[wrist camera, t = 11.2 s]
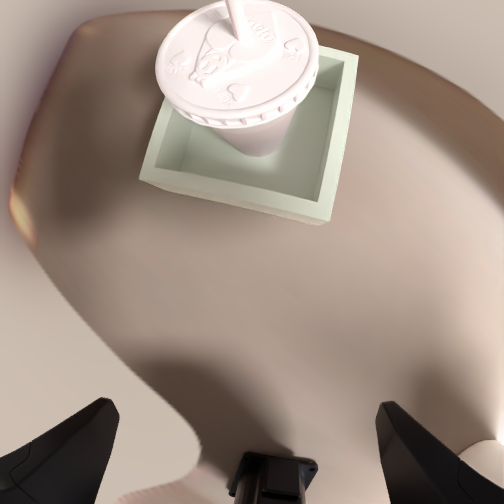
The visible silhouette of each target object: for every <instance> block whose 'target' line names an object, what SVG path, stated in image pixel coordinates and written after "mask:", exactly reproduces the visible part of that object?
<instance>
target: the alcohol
mask: <svg viewBox="0 0 504 504" xmlns="http://www.w3.org/2000/svg"><path fill="white" fill-rule="evenodd" d="M458 457H459V458H460V459H461V460H463V461H464V462H466V463H467V464H468V465H469V466H470V467H472V468H473V469H474V470H476V471H477V472H478V473H479V474H481V475H482V476H484V477H485V478H487V479H488V480H490V481H492V482H493V483H495V484H497V485H498V486H500V487H502V488H503V489H504V446H503V445H502V444H501V443H500V442H499V441H497V440H484V441H480V442H478V443H475V444H474V445H472V446H470V447H469V448H467V449H466V450H464V451H463V452H462V453H461V454H459V455H458Z"/></svg>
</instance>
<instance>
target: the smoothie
mask: <svg viewBox="0 0 504 504" xmlns="http://www.w3.org/2000/svg"><path fill="white" fill-rule="evenodd" d="M318 59H319V46H318V41H317V38H316V35H315V33H314V31H313V30H312V28H311V27H310V25H309V24H308V23H307V22H306V20H305V19H303V18H302V17H301V16H300V15H299V14H297V13H296V12H294V11H293V10H291V9H290V8H288V7H285V6H284V5H281V4H279V3H275V2H272V1H268V0H224V1H219V2H216V3H212V4H210V5H207V6H205V7H202V8H200V9H198V10H196V11H194V12H193V13H191V14H189V15H188V16H187V17H185V18H184V19H182V20H181V21H180V22H179V23H178V24H177V25H176V26H175V27H174V28H173V29H172V30H171V31H170V32H169V33H168V35H167V36H166V37H165V39H164V41H163V42H162V44H161V46H160V48H159V51H158V54H157V58H156V65H155V72H156V78H157V82H158V84H159V87H160V89H161V90H162V92H163V93H164V95H165V96H166V97H167V99H168V101H169V103H170V105H171V106H172V107H173V108H174V109H176V110H177V111H178V112H179V113H180V114H181V115H182V116H183V117H185V118H187V119H189V120H191V121H193V122H195V123H197V124H200V125H203V126H208V127H210V128H212V129H213V130H214V131H215V132H217V133H218V134H219V135H220V136H221V137H223V138H224V139H225V140H226V141H228V142H229V143H230V144H231V145H232V146H234V147H235V148H236V149H237V150H238V151H240V152H241V153H243V154H245V155H247V156H251V157H263V156H267V155H269V154H271V153H273V152H274V151H276V150H277V149H278V148H279V147H280V146H281V144H282V143H283V140H284V138H285V135H286V133H287V130H288V128H289V125H290V122H291V120H292V117H293V115H294V112H295V110H296V107H297V105H298V104H299V103H300V102H301V101H303V100H304V98H305V97H306V95H307V94H308V92H309V91H310V90H311V88H312V87H313V85H314V83H315V80H316V76H317V72H318V69H319V64H318Z"/></svg>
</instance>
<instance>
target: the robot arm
mask: <svg viewBox="0 0 504 504" xmlns="http://www.w3.org/2000/svg"><path fill="white" fill-rule="evenodd" d="M118 423H119V413H118V411H117V409H116V407H115V405H114V403H113V401H112V400H111V399H108V398H103V397H101V398H99V399H97V400H95V401H94V402H93V403H91V404H89V405H88V406H86V407H85V408H83V409H82V410H80V411H79V412H77V413H76V414H74V415H73V416H71V417H69V418H68V419H66V420H64V421H63V422H61V423H60V424H58V425H57V426H55V427H53V428H52V429H50V430H49V431H47V432H45V433H44V434H42V435H40V436H39V437H37V438H36V439H34V440H32V442H29V443H27V444H26V445H24V446H22V447H21V448H19V449H17V450H15V451H13V452H11V453H9V454H7V455H5V456H3V457H1V458H0V504H94V503H95V500H96V496H97V493H98V490H99V487H100V484H101V481H102V478H103V475H104V472H105V470H106V467H107V464H108V461H109V458H110V455H111V451H112V448H113V443H114V439H115V435H116V431H117V427H118ZM376 430H377V437H378V444H379V452H380V459H381V465H382V469H383V473H384V477H385V481H386V485H387V489H388V493H389V498H390V502H391V504H504V489H503V488H502V487H500V486H498V485H497V484H495V483H493V482H492V481H490V480H488V479H487V478H485V477H484V476H482V475H481V474H479V473H478V472H477V471H476V470H474V469H473V468H472V467H470V466H469V465H468V464H467V463H466V462H464V461H463V460H461V459H460V458H459V457H458V456H457V455H456V454H455V453H454V452H452V451H451V450H450V449H449V448H448V447H447V446H445V445H444V444H443V443H442V442H441V441H439V440H438V439H437V438H436V437H435V436H434V435H433V434H431V433H430V432H429V431H428V430H427V429H426V428H424V427H423V426H422V425H421V424H420V423H419V422H417V421H416V420H415V419H414V418H413V417H412V416H411V415H409V414H408V413H407V412H406V411H405V410H404V409H403V408H401V407H400V406H399V405H398V404H397V403H396V402H394V401H386V402H382V403H381V404H380V407H379V410H378V413H377V416H376ZM247 457H250V458H247ZM310 468H313V469H310ZM317 471H318V465H317V464H316V463H310V462H302V461H295V460H289V459H283V458H277V457H272V456H267V455H262V454H257V453H252V452H245V453H243V455H242V458H241V460H240V463H239V466H238V469H237V471H236V474H235V477H234V479H233V482H232V485H231V487H230V490H229V495H230V496H231V497H235V501H234V504H306V501H305V491H306V489H307V488H308V486H309V485H310V483H311V481H312V479H313V478H314V476H315V474H316V473H317Z"/></svg>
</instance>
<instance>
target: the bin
mask: <svg viewBox="0 0 504 504" xmlns="http://www.w3.org/2000/svg"><path fill="white" fill-rule="evenodd" d="M318 46H319V45H318ZM358 57H359V56H358V55H354V54H351V53H347V52H343V51H340V50H336V49H332V48H328V47H323V46H319V59H318V64H319V69H318V72H317V76H316V80H315V83H314V85H313V87H312V88H311V90H310V91H309V92H308V94H307V95H306V97H305V98H304V100H303V101H301V102H300V103H299V104H298V105H297V107H296V110H295V112H294V115H293V117H292V120H291V122H290V125H289V128H288V130H287V133H286V135H285V138H284V140H283V143H282V144H281V146H280V147H279V148H278V149H277V150H276V151H274V152H273V153H271V154H269V155H267V156H263V157H251V156H247V155H245V154H243V153H241V152H240V151H238V150H237V149H236V148H235V147H234V146H232V145H231V144H230V143H229V142H228V141H226V140H225V139H224V138H223V137H221V136H220V135H219V134H218V133H217V132H215V131H214V130H213V129H212V128H210V127H208V126H203V125H200V124H197V123H195V122H193V121H191V120H189V119H187V118H185V117H183V116H182V115H181V114H180V113H179V112H178V111H177V110H176V109H174V108H173V107H172V106H171V105H170V103H169V101H168V99H167V97H166V96H165V98H164V101H163V104H162V106H161V109H160V112H159V115H158V118H157V121H156V123H155V126H154V129H153V132H152V136H151V139H150V142H149V145H148V148H147V151H146V155H145V158H144V161H143V165H142V168H141V172H140V176H139V179H140V180H142V181H145V182H147V183H149V184H152V185H154V186H156V187H159V188H161V189H163V190H166V191H169V192H174V193H178V194H183V195H188V196H193V197H197V198H202V199H207V200H211V201H216V202H220V203H225V204H229V205H233V206H238V207H242V208H246V209H251V210H255V211H259V212H263V213H267V214H272V215H276V216H280V217H284V218H288V219H292V220H296V221H300V222H304V223H308V224H312V225H315V226H320V225H323V224H325V223H327V222H329V221H330V217H331V212H332V208H333V203H334V199H335V194H336V189H337V185H338V180H339V175H340V170H341V165H342V160H343V154H344V149H345V143H346V138H347V132H348V126H349V120H350V114H351V108H352V101H353V95H354V88H355V81H356V73H357V65H358Z"/></svg>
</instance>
